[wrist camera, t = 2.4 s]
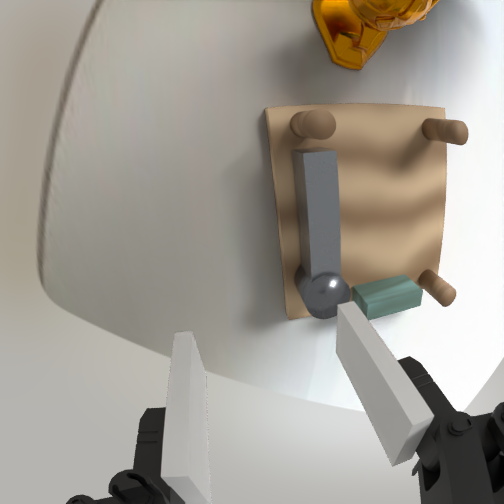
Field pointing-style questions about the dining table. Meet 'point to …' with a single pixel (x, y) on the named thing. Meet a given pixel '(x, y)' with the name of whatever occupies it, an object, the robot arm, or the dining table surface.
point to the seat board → (371, 197)
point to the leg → (319, 231)
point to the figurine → (363, 25)
